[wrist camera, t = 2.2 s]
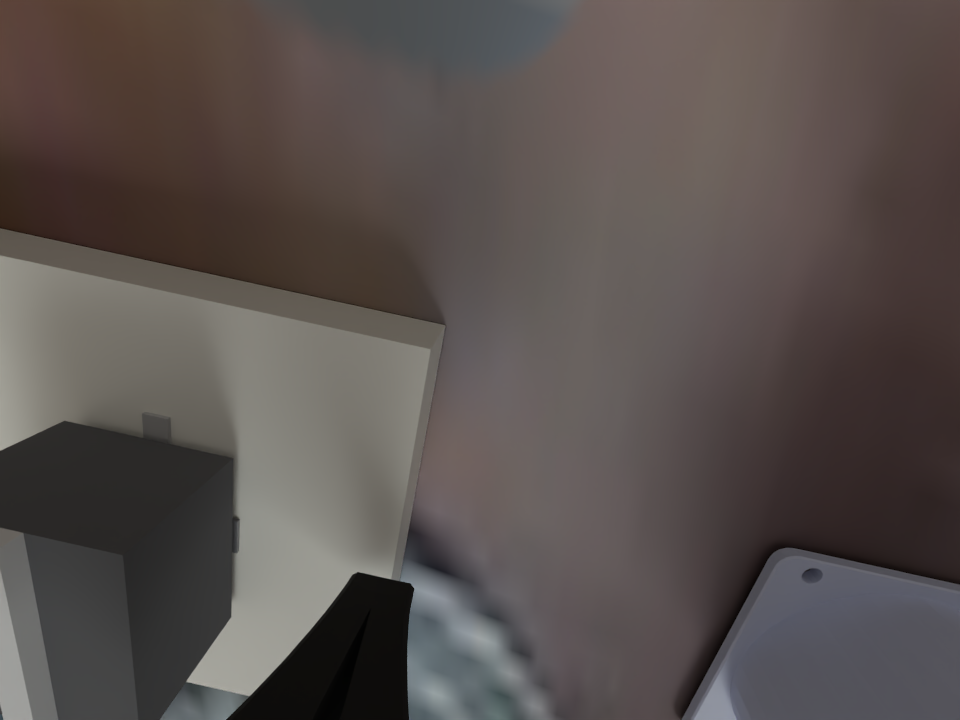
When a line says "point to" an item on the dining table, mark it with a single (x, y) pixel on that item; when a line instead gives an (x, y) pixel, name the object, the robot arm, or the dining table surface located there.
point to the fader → (108, 572)
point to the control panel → (233, 416)
